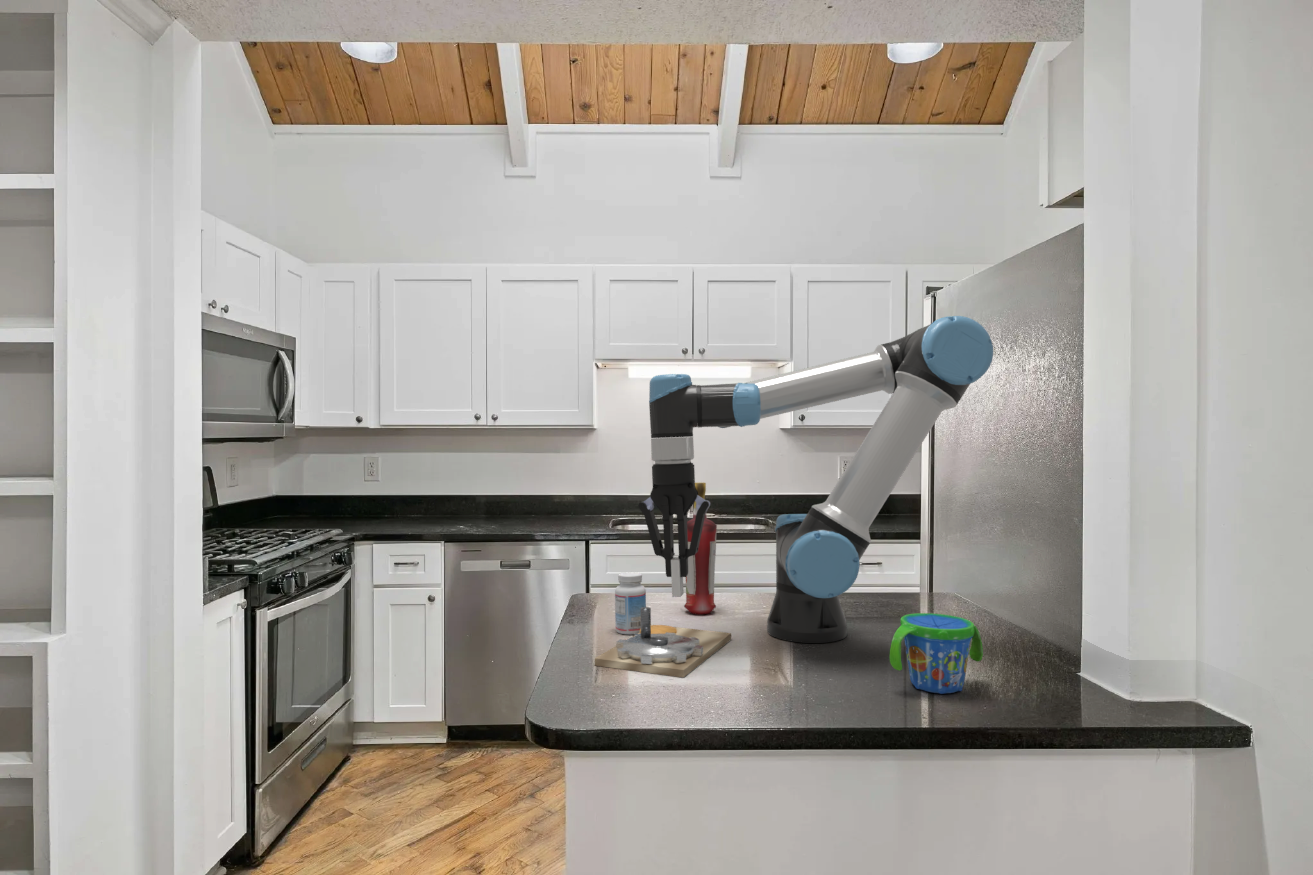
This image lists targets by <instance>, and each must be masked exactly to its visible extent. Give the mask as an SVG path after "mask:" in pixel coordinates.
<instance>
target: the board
mask: <svg viewBox="0 0 1313 875" xmlns="http://www.w3.org/2000/svg"><path fill="white" fill-rule="evenodd" d="M673 627H674V628H676V629H677V633H676V635H680V636H684V637H688V638H690V637H695V638H697V639H699V646H703V654H702V655H701V656H696V655H693V656H692V657H690V658H687V659H686V662H681V663H675V662H653V663H652V664H643V663H641V661H638V660H634V659H631V658H623V659H622V658H620V657H619V656H618V650H617V649H616V645H615V646H614V647H612V648H610V649H608V650H606V651H605V652H602V654H599V655H598V656H596V657H594V666H597V667H605V668H611V669H618V670H624V671H633V672H641V673H647V674H654V675H655V674H656V675H660V676H661V675H662V676H668V677H669V676H670V677H677V678H685V677H686V676H688V675H689V674H690V673H691V672H693V671H694V670H695V669H696V668H698V667H699V666H700V665H702V664H703V663H704V662H705V661H706V660H707V659H709V658H710V657H711V656H712V655H714V654H715V653H716V652H718V651H719V650H720V649H721V648H722V647H724V646H725V645H727V643H729V642H730V641H731V640H732V633H731V632H724V631H716V630H715V631H714V630H705V629H697V628H690V627H689V628H687V627H678V626H673ZM638 634H641V633H638ZM632 637H635V635H633V636H632Z"/></svg>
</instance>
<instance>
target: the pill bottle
mask: <svg viewBox="0 0 1313 875" xmlns="http://www.w3.org/2000/svg"><path fill="white" fill-rule="evenodd" d="M617 577H618V583H619V584H618V585H617V586H616V587H615V589H614V605H615V607H614V611H615V612H614V613H615V614H614V615H615V618H614V619H615V622H614V623H615V632H617V633H618V634H620V635H629V636H631V635H633V636H634V635H635V634H638V633H640V628H641V608H642V607H647V595H646V594H647V593H646V592H647V589H646V588H645V586H644V585H643V584H641V583H642V582H643V574H642V573H641V572H638V571H637V572H636V571H626V572H621V573H619V574H618V575H617Z"/></svg>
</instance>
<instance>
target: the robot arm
mask: <svg viewBox="0 0 1313 875" xmlns="http://www.w3.org/2000/svg"><path fill="white" fill-rule="evenodd" d="M993 357H994V344H993V342H992V339H991V336H990V334H989V332H988V331H987V329H986V328H985V327H984V326H983V325H982V324H981V323H979V322H978V321H976V320H975V319H973V318H970V317H968V316H963V315H953V316H952V315H951V316H950V315H949V316H944V317H941V318H938V319H936V320H934V321H932V323H930V324H928V325H925V326H923V327H920V328H919V329H917V330H915V331H913V332H912V333H911V332H910V333H909V334H907V335H905V336H903V337H900V338H898V339H895V340H893V341H889V342H886V343H882V344H878V345H876V347H875V349H874V350H873V351H871V352H867V353H863V354H859V355H855V356H851V357H847V358H843V359H838V360H834V361H830V362H826V363H822V364H817V365H814V366H810V367H806V368H805V367H804V368H801V369H797V370H792V371H789V372H785V373H780V374H777V375H772V376H768V377H763V378H760V379H756V380H755V379H754V380H752V381H751V380H750V381H747V382H744V383H743V382H736V383H721V384H720V383H719V384H707V385H706V384H705V385H703V384H701V385H700V384H699V385H698V384H693V382H692V378H691V376H690V375H689V374H686V373H685V374H684V373H677V374H676V373H669V374H658V375H655V376H653V377H652V378H651V379H650V380H649V400H648V404H649V407H648V408H649V421H650V422H649V424H650V449H651V450H650V452H651V455H650V456H651V461H653V462H654V463H653V464H652V466H651V476H652V478H651V479H652V489H651V491H650V493H649V497H648V498H647V499H645V500H644V501H641V502H639V503H638V508H639V510H640V511H641V513H642V514H643V515H644V520H645V523H646V526H647V530H648V534H649V537H650V541H651V544H652V548H653V552H654V555H656V556H659V557H662V558H663V559H664V562H665V576H666V577H667V578H671V597H672V598H674V597H675V598H681V597H682V596H683V595H684V592H685V591H684V578H686V576H687V575H688V557H690V556H693V555H695V554H696V553H697V552H698V548H699V543H700V538H701V533H702V528H703V523H704V518H705V513H706V514H707V512H708V510H709V508H710V506H712V505H711V503H712V502H711V501H710V500H708V499H706V498H705V499H703V498H702V497H700V496H698V491H697V490H696V487H695V483H696V477H695V476H696V472H695V464H694V462H692V460H694V458H695V450H694V428H698V429H699V428H716V427H717V428H719V429H727V428H731V427H741V428H742V427H747V426H748V427H749V426H756V425H758V424H759V423H760V421H761V419H766V418H769V417H770V418H771V417H774V416H778V415H783V414H786V413H791V412H795V411H800V410H804V409H808V408H813V407H816V406H817V407H818V406H822V405H825V404H829V403H833V402H838V401H842V400H848V399H850V398H851V399H852V398H856V397H859V396H864V395H868V394H872V393H876V392H881V391H883V392H885V393H887V394H888V395H891V394H892V395H891V396H890V397H889V399H888V401H887V403H886V404H885V406H884V407H883V409H882V410H881V412H880V413H879V415H878V417H877V418H876V420H875V422H874V423H873V425H872V426H871V428H870V429H869V431H868V432H867V434H866V436H865V438H864V439H863V441H862V443H861V444H860V446H859V447H858V449H857V450H856V452H855V453H854V455H853V457H851V460H850V461H849V463H848V465H846V468H845V470H844V471H843V473H842V474H841V476H840V478H839V479H838V480H837V482H836V484H835V485H834V487H833V488H832V490H831V492H830V494H829V495H828V496H827V498H826V500H825V501H823V502H822V503H817V504H813V505H811V508H810V509H809V510H808V512H807V513H788V514H786V513H784V514H780V515H779V516H777V518H776V520H775V521H776V522H775V523H776V524H775V528H774V532H775V534H776V535H775V540H776V541H775V545H776V546H775V549H776V550H775V558H776V559H775V563H776V564H775V565H776V566H775V568H776V569H775V578H776V581H775V582H776V583H775V587H776V589H775V595H774V599H773V600H772V601H773V602H772V604H771V607H770V611H769V614H768V618H767V620H766V621H767V622H766V623H767V625H766V626H767V628H766V630H767V633H768V634H769V635H770V636H772V637H774V638H776V639H780V640H785V641H786V642H787V641H788V642H795V643H804V644H805V643H806V644H822V643H831V642H833V643H834V642H838V641H841V640H843V639H846V637H847V636H848V622H847V620H846V616H845V614H844V610H843V607H842V605H841V601H840V597H839V596H840V595H843V594H844V593H846V592H847V591H848V590H849V589H850V588H851V587H852V586H853V585H854V584H855V582H856V580H857V578H858V575H859V572H860V560H861V559H862V557H863V555H864V553H865V552H866V550H867V549H868V547H869V545H871V542H872V539H871V535H870V531H869V529H870V527H871V525H872V524H873V522H874V520H875V519H876V517H877V516H878V515H879V512H880V511H881V509H882V508H883V506H884V504H885V503H886V502H887V500H888V498H889V496H890V495H891V493H892V492H893V490H894V488H895V486H896V485H897V484H898V482H899V480H900V479H901V477H902V476H903V475H904V472H905V471H906V470H907V469H908V468H907V467H908V466H909V465H910V463H911V461H912V460H913V458H914V457H915V455H916V453H917V452H918V450H919V449H920V447H921V446H922V444H923V442H924V441H925V439H926V438H927V436H928V434H929V433H930V431H931V430H932V428H933V426H934V425H935V423H936V421H937V420H938V419H939V417H940V415H941V414H942V412H943V411H946V410H950V409H954V408H956V407H957V406H958V404H959V402H960V401H961V399H962V397H963V396H964V394H965V393H966V391H967V390H968V389H969V387H970V385H971V384H973V383H975V382H977V381H979V380H980V379H981V378H982V377H983V376H984V375H986V373H987V372H988V371H989V369H990V367H991V364H992V363H993V359H994V358H993ZM695 501H696V509H697V510H698V511H697V514H696V518H695V523H694V528H693V533H692V538H691V543H690V548H689V549H688V534H687V521H688V513H689V511H690V509H691V508H692V507H693V506H694V502H695ZM654 505H655V506H656V507H657V509H658V511H659V512H660V513H661V514H662V521H663V523H662V524H663V526H662V527H663V541H662V537H661V534H660V533H661V532H660V529H659V526H658V522H657V519H656V516H655V512H654V509H655V506H654ZM674 515H676V521H677V542H678V556H676V557H675V555H676V553H675V546H674V545H675V541H674V539H675V538H674Z"/></svg>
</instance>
